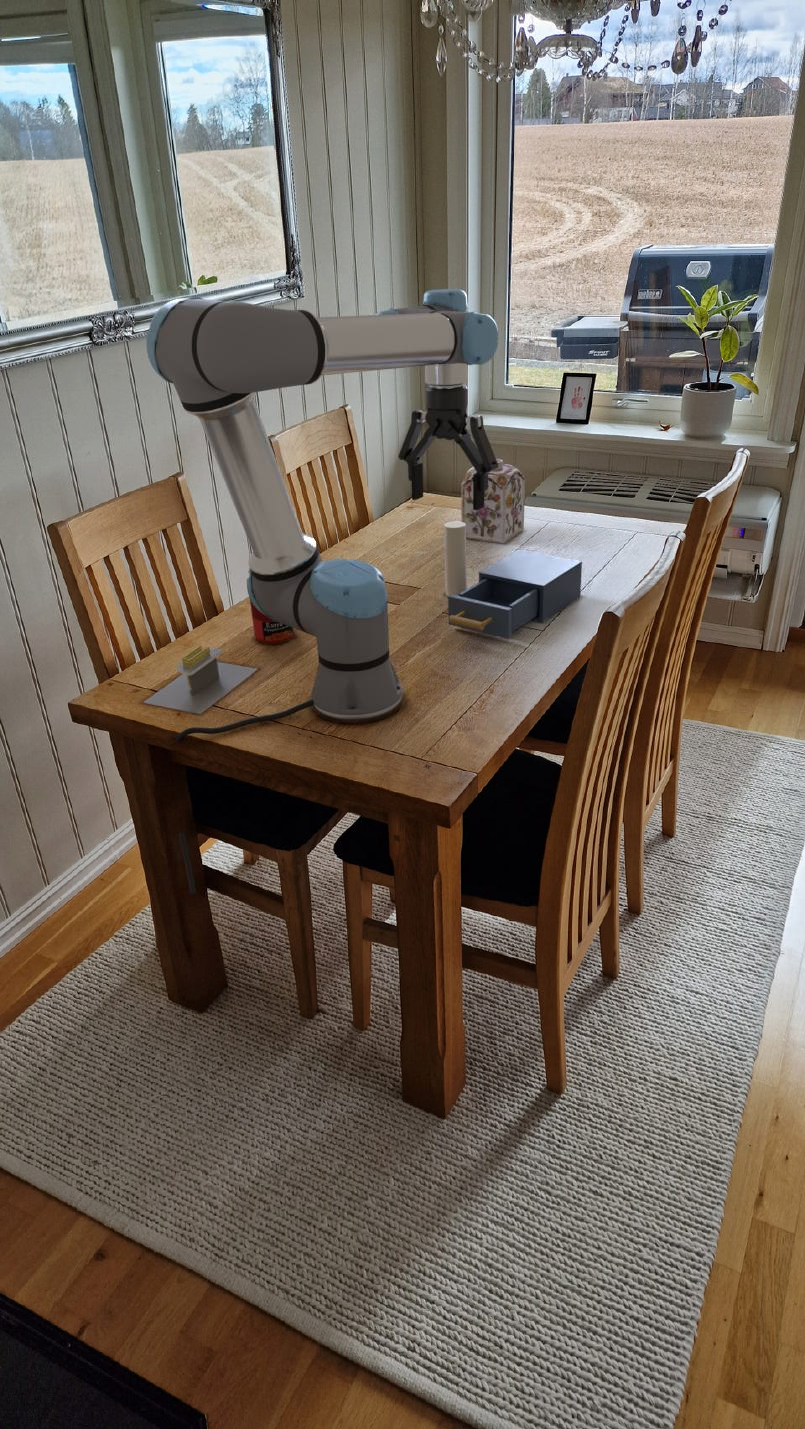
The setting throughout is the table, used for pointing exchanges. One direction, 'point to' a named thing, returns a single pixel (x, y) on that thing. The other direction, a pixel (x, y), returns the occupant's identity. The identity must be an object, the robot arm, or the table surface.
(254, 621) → the canned food
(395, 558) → the table surface
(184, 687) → the platform
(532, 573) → the cabinet
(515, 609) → the drawer
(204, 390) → the robot arm
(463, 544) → the candle
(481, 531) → the decorative jar
